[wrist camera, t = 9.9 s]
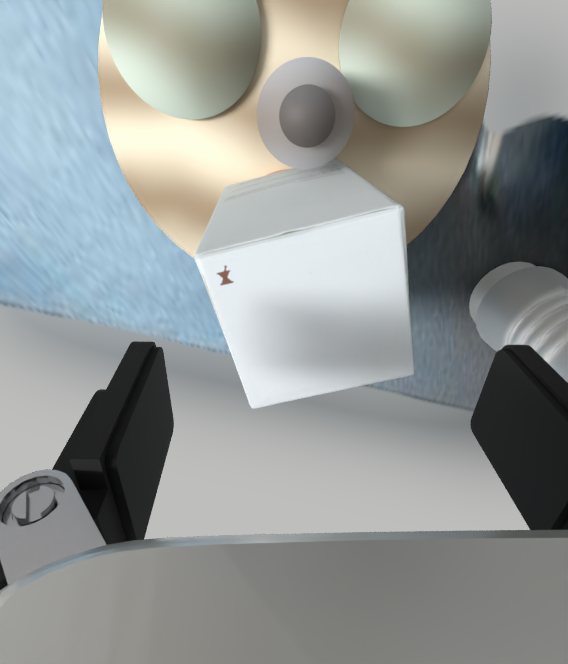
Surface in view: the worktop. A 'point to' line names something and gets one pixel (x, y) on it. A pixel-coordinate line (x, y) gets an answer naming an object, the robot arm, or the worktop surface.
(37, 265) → the worktop surface
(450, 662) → the robot arm
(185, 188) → the carrier
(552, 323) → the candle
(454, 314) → the worktop surface
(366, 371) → the supplement box
